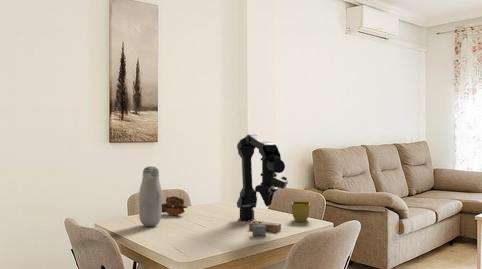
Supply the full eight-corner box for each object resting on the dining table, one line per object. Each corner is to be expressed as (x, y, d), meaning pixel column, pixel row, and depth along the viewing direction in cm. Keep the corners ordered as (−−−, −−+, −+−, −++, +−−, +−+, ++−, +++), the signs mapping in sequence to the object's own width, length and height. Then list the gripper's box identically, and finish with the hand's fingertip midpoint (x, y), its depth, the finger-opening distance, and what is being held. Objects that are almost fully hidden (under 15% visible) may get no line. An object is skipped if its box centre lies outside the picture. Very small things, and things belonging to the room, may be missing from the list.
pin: (254, 229, 186) (254, 220, 185) (255, 228, 187) (255, 219, 187) (257, 229, 185) (257, 220, 185) (259, 228, 186) (259, 220, 186)
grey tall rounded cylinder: (135, 227, 189) (135, 166, 188) (147, 223, 198) (147, 165, 198) (153, 229, 185) (153, 167, 185) (165, 224, 195) (165, 165, 195)
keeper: (251, 234, 177) (251, 224, 177) (264, 233, 177) (264, 224, 177) (252, 236, 172) (252, 226, 172) (265, 236, 173) (265, 226, 173)
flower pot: (309, 223, 198) (309, 204, 198) (291, 222, 200) (291, 204, 200) (310, 219, 207) (310, 201, 207) (292, 218, 209) (292, 201, 209)
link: (249, 229, 185) (249, 223, 185) (253, 227, 190) (253, 220, 189) (277, 232, 179) (277, 225, 179) (281, 230, 184) (281, 223, 184)
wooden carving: (157, 215, 218) (157, 196, 218) (161, 213, 222) (161, 195, 222) (185, 217, 212) (185, 197, 212) (189, 215, 217) (189, 196, 217)
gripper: (279, 173, 172) (279, 210, 172) (291, 170, 189) (291, 203, 189) (254, 172, 176) (254, 208, 176) (268, 169, 193) (268, 202, 194)
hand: (268, 205), depth 184 cm, fingers open, 3 cm apart
